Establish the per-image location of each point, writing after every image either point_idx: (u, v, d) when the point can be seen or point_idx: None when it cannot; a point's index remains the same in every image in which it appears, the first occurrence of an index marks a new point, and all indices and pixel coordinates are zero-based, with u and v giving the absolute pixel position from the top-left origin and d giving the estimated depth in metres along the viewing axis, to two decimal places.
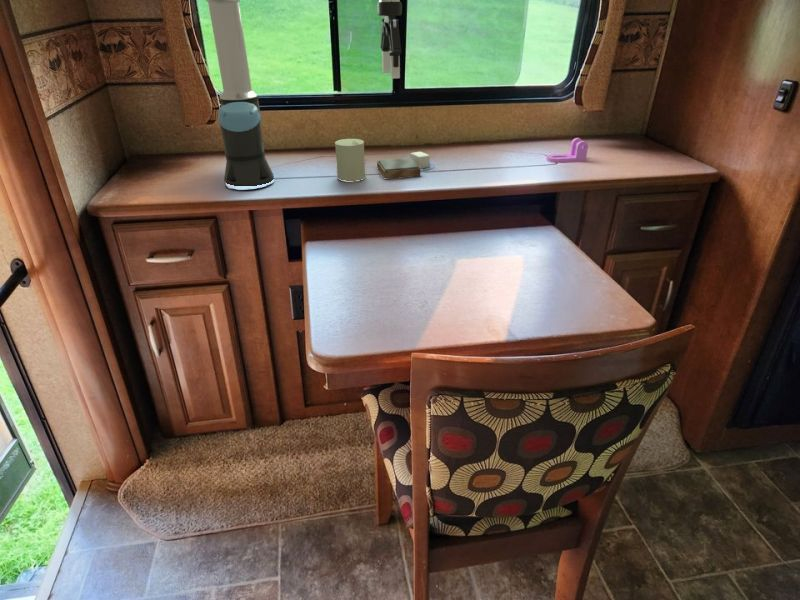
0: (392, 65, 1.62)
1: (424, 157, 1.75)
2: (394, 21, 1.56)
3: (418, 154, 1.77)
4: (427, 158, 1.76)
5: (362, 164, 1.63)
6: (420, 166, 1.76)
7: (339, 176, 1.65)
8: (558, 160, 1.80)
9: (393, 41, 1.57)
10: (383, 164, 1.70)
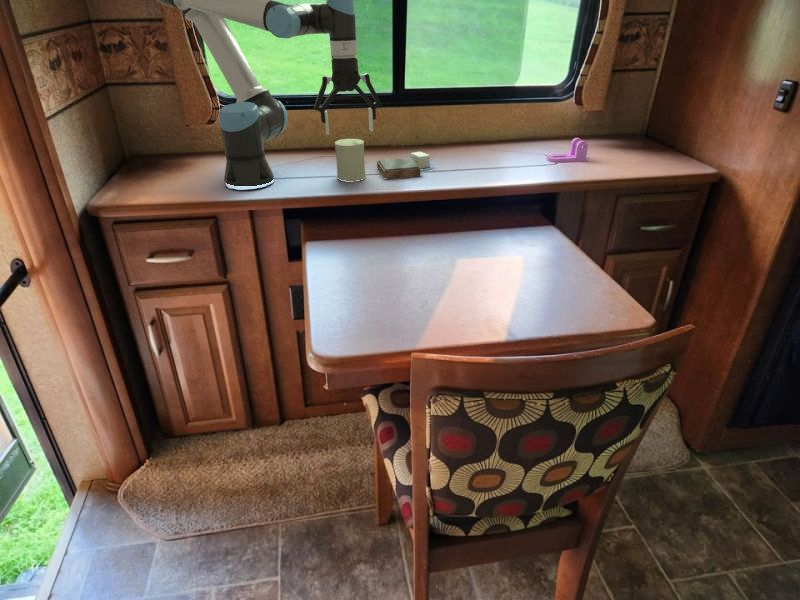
0: None
1: (424, 157, 1.75)
2: (322, 77, 1.51)
3: (418, 154, 1.77)
4: (427, 158, 1.76)
5: (362, 164, 1.63)
6: (420, 166, 1.76)
7: (339, 176, 1.65)
8: (558, 160, 1.80)
9: (317, 96, 1.54)
10: (383, 164, 1.70)
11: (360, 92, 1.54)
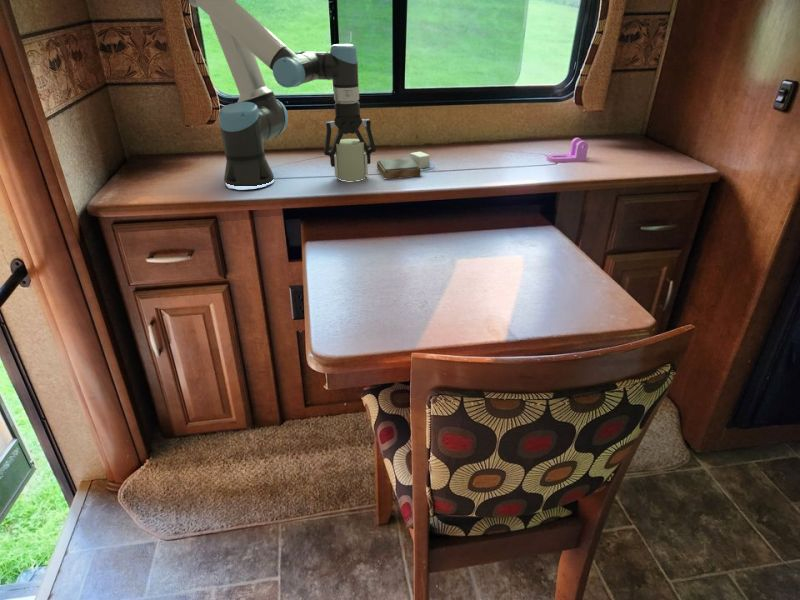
0: None
1: (424, 157, 1.75)
2: (326, 124, 1.58)
3: (418, 154, 1.77)
4: (427, 158, 1.76)
5: (362, 164, 1.63)
6: (420, 166, 1.76)
7: (339, 176, 1.65)
8: (558, 160, 1.80)
9: (325, 142, 1.61)
10: (383, 164, 1.70)
11: (359, 136, 1.61)
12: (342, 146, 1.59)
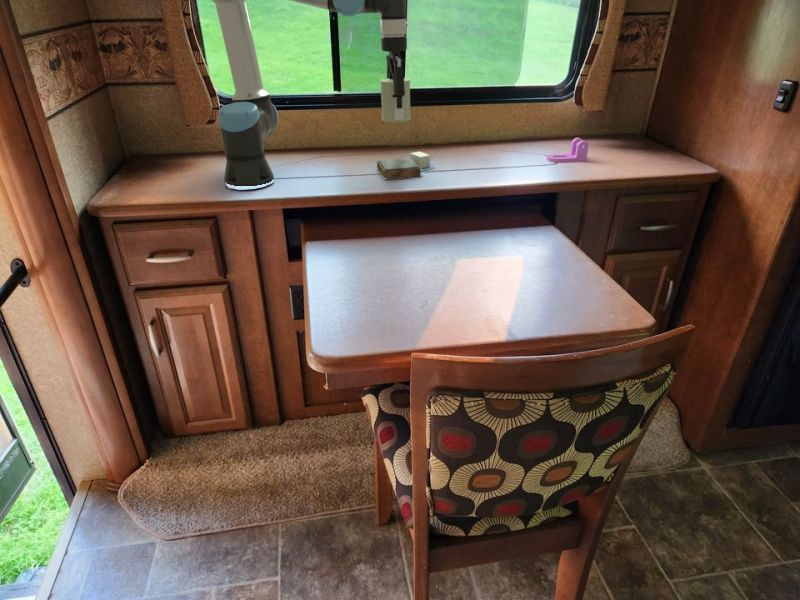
0: (395, 106, 1.56)
1: (424, 157, 1.75)
2: (398, 61, 1.49)
3: (418, 154, 1.77)
4: (427, 158, 1.76)
5: None
6: (421, 166, 1.76)
7: (404, 116, 1.59)
8: (559, 160, 1.80)
9: (397, 82, 1.51)
10: (383, 164, 1.70)
11: None
12: (408, 81, 1.56)
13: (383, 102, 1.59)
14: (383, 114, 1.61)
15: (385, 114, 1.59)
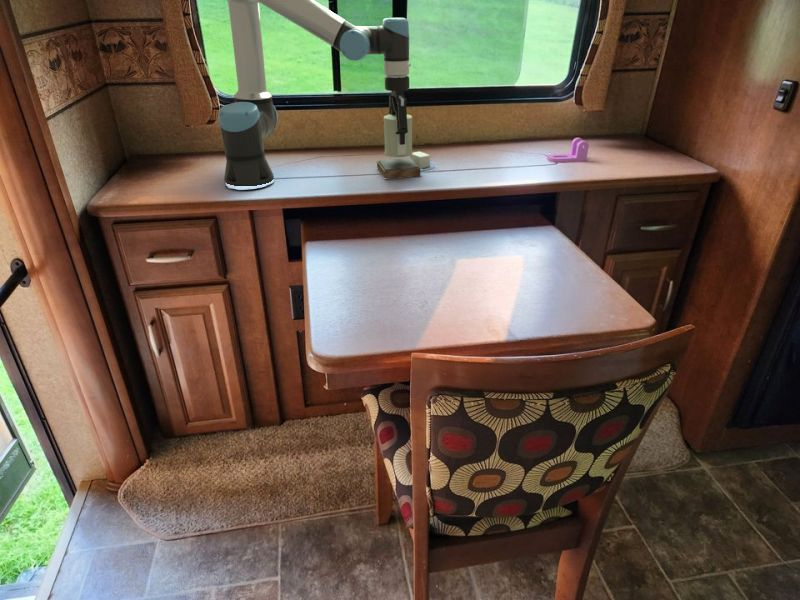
0: (398, 142, 1.62)
1: (424, 157, 1.75)
2: (402, 101, 1.55)
3: (418, 154, 1.77)
4: (427, 158, 1.76)
5: None
6: (421, 166, 1.76)
7: (406, 151, 1.65)
8: (559, 160, 1.80)
9: (400, 121, 1.57)
10: (383, 164, 1.70)
11: None
12: (411, 118, 1.62)
13: (386, 138, 1.64)
14: (386, 149, 1.66)
15: (388, 149, 1.65)
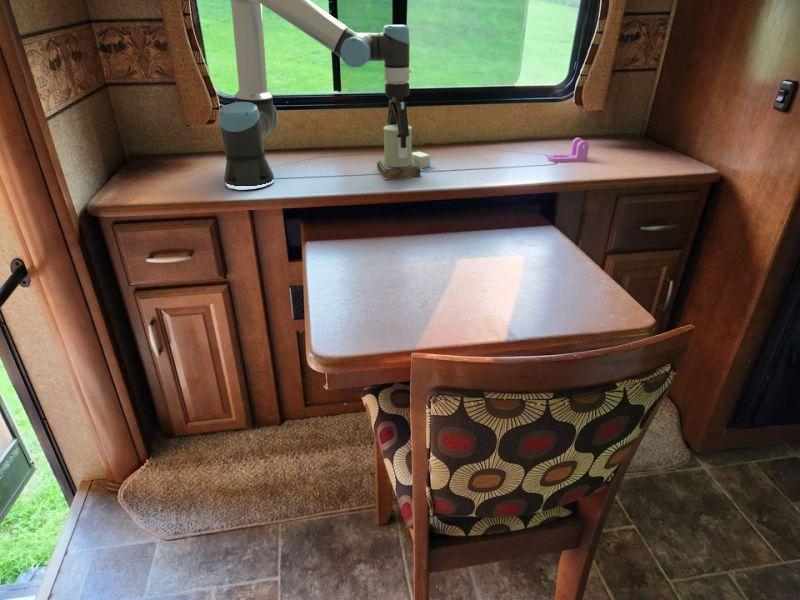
0: (399, 145, 1.61)
1: (424, 157, 1.75)
2: (402, 104, 1.55)
3: (418, 154, 1.77)
4: (428, 158, 1.76)
5: None
6: (421, 166, 1.76)
7: (406, 162, 1.67)
8: (559, 160, 1.80)
9: (401, 124, 1.56)
10: (383, 164, 1.70)
11: None
12: (410, 129, 1.64)
13: (386, 148, 1.66)
14: (386, 159, 1.68)
15: (388, 159, 1.67)
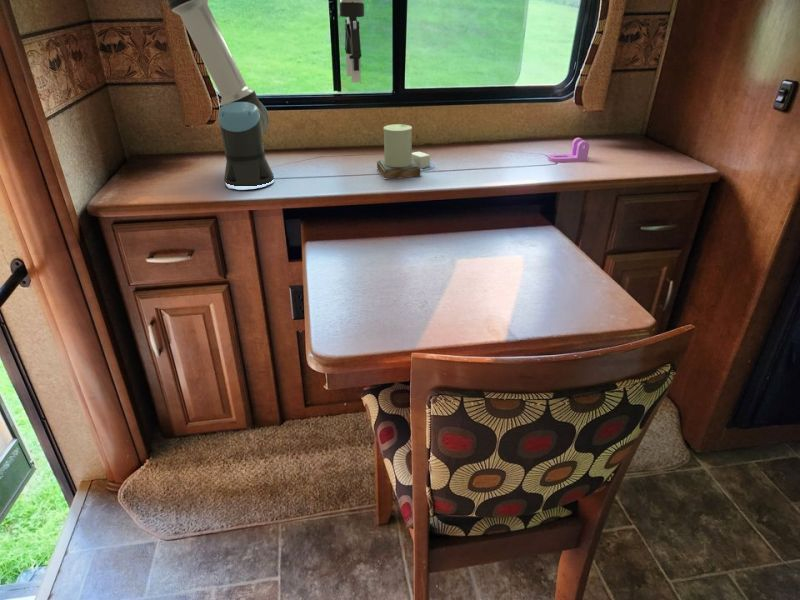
0: (352, 68, 1.56)
1: (424, 157, 1.75)
2: (354, 23, 1.50)
3: (418, 154, 1.77)
4: (428, 158, 1.76)
5: None
6: (421, 166, 1.76)
7: (406, 162, 1.67)
8: (559, 160, 1.80)
9: (353, 43, 1.51)
10: (383, 164, 1.70)
11: None
12: (410, 129, 1.64)
13: (386, 148, 1.66)
14: (386, 159, 1.68)
15: (388, 159, 1.67)
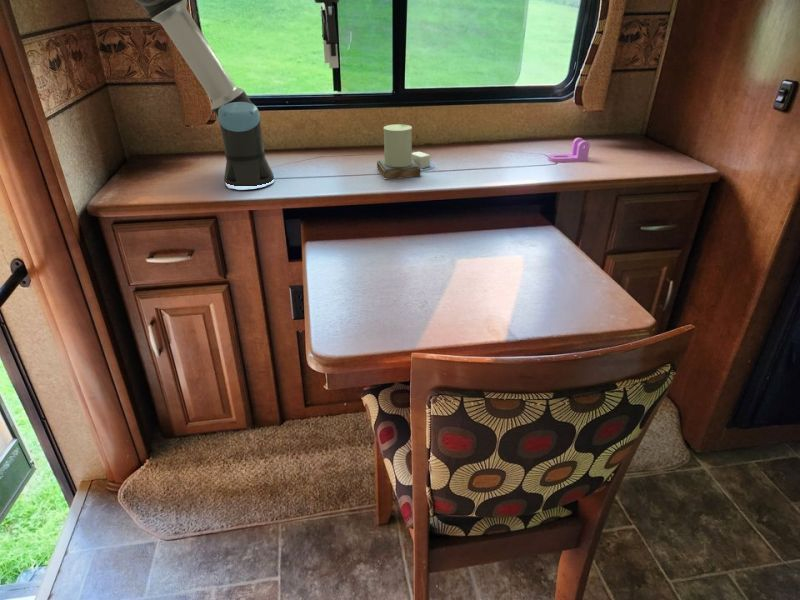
0: (330, 54, 1.57)
1: (425, 157, 1.75)
2: (329, 8, 1.52)
3: (418, 154, 1.77)
4: (428, 158, 1.76)
5: None
6: (421, 166, 1.76)
7: (406, 162, 1.67)
8: (560, 160, 1.80)
9: (329, 29, 1.52)
10: (383, 164, 1.70)
11: None
12: (410, 129, 1.64)
13: (386, 148, 1.66)
14: (386, 159, 1.68)
15: (388, 159, 1.67)
